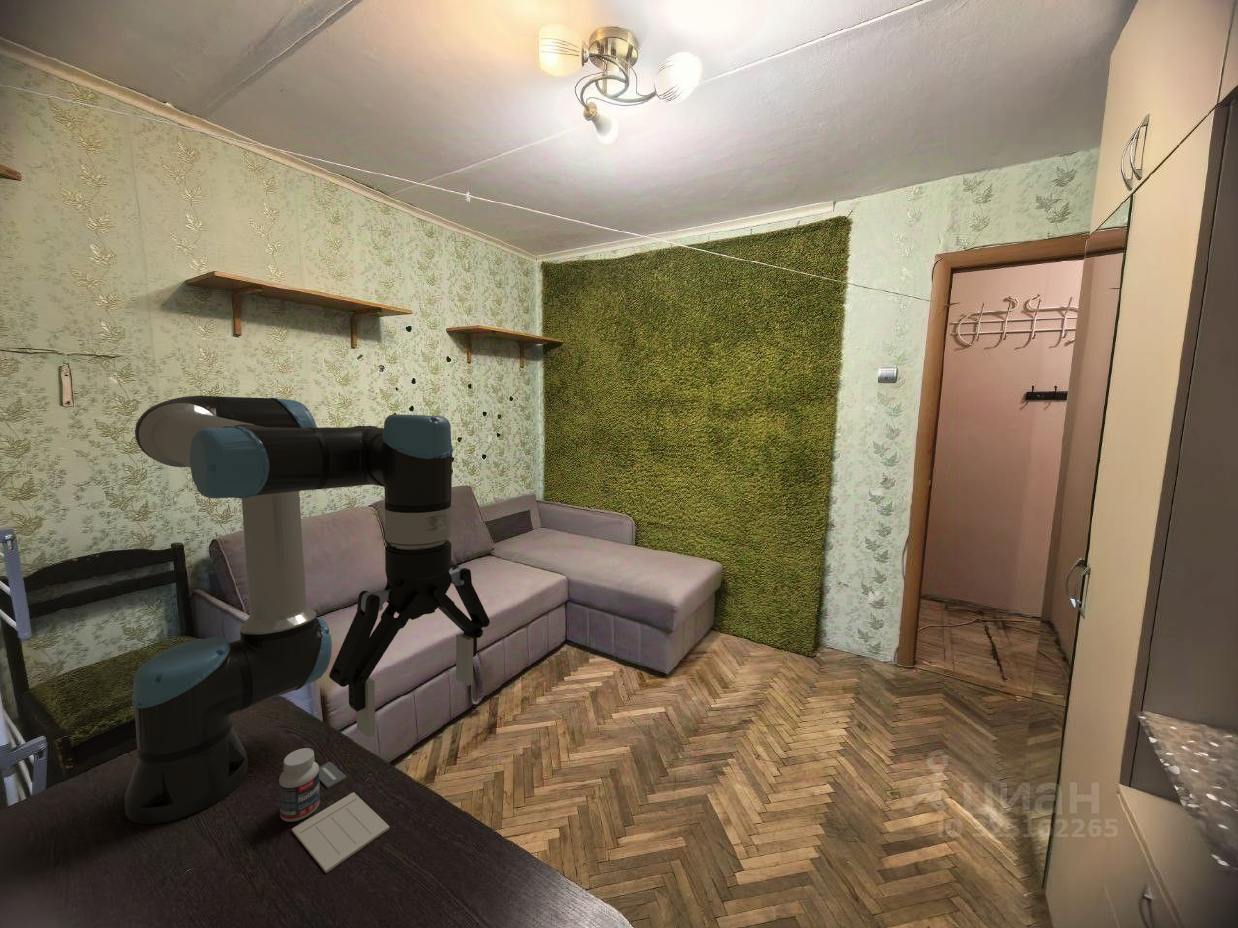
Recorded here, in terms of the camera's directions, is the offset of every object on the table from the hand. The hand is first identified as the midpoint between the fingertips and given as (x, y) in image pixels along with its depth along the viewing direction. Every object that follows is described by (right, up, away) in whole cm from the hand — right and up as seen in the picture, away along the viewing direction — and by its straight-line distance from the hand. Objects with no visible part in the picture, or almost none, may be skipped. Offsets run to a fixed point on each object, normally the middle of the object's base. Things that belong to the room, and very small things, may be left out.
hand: (419, 704), depth 62 cm
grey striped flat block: (-25, -23, +22) cm, 41 cm away
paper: (-17, -25, +11) cm, 32 cm away
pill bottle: (-25, -24, +15) cm, 38 cm away
